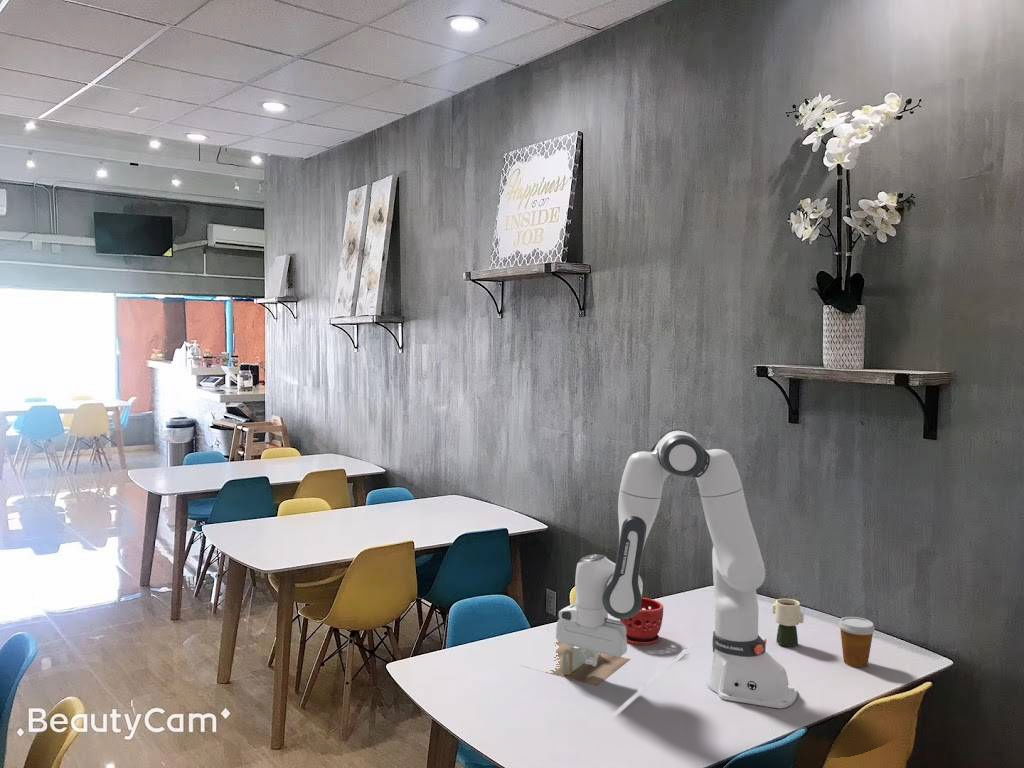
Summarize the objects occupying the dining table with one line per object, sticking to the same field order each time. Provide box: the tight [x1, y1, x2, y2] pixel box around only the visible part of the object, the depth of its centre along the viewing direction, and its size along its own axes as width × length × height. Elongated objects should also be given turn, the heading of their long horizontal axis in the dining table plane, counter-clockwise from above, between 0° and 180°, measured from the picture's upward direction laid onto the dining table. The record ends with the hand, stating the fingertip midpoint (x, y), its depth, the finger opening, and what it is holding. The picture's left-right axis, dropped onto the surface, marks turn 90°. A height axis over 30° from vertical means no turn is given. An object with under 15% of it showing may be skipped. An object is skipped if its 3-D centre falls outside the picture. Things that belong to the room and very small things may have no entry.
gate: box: [562, 646, 595, 675], centre depth 224 cm, size 2×16×6 cm, turn 147°
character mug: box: [772, 598, 805, 647], centre depth 242 cm, size 11×7×13 cm, turn 34°
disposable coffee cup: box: [838, 616, 876, 669], centre depth 228 cm, size 10×10×12 cm
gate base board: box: [545, 641, 631, 687], centre depth 226 cm, size 24×21×9 cm
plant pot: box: [619, 597, 664, 647], centre depth 244 cm, size 13×13×12 cm
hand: (590, 664), depth 218 cm, fingers closed
